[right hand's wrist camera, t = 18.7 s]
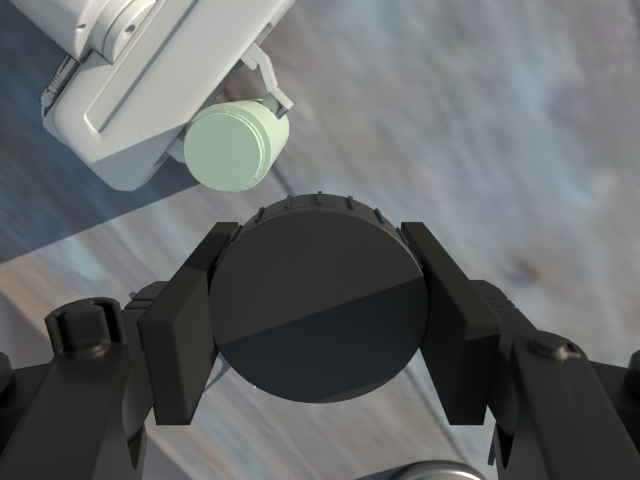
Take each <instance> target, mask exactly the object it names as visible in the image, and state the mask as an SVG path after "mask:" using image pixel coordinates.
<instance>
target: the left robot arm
mask: <svg viewBox="0 0 640 480" xmlns="http://www.w3.org/2000/svg"><path fill="white" fill-rule="evenodd" d="M9 1H10V2H11V3H12V4H13V5H14V6H15V7H16V8H17V9H18V10H19V11H20V12H21V13H23V14H24V15H25V16H26V17H27V18H28V19H30V20H31V21H32V22H33V23H34V24H35V25H36V26H38V27H39V28H40V29H41V30H42V31H43V32H44V33H46V34H47V35H48V36H49V37H50V38H51V39H52V40H54V41H55V42H56V43H57V44H58V45H59V46H60V47H62V48H63V49H64V50H65V51H66V52H67V54H66V55H65V57H64V59H63V60H62V62H61V63H60V65H59V66H58V68H57V70H56V72H55V74H54V76H53V79H52V80H51V82H50V83H49V85H48V86H46V87H45V88H44V89H43V91H42V92H41V94H40V97H39V102H40V104H41V118H42V123H43V126H44V127H45V129H46V130H47V131H48V132H49V133H51V134H52V135H53V136H54V137H56V138H57V139H58V140H59V141H61V142H62V143H63V144H64V145H66V146H68V147H70V148H71V149H72V151H73V152H74V153H75V154H76V155H77V156H78V157H79V158H80V159H81V160H82V161H83V162H84V163H85V164H86V165H87V166H88V167H89V168H90V169H91V170H92V171H93V172H94V173H95V174H96V175H97V176H99V177H100V178H101V179H102V180H103V181H104V182H105V183H106V184H108V185H109V186H110V187H112V188H113V189H115V190H120V191H133V190H135V189H137V188H139V187H141V186H143V185H144V184H146V183H147V182H148V181H149V180H150V179H151V178H152V176H153V175H154V174H155V173H156V171H157V170H158V169H159V168H160V166H161V165H162V164H163V163H164V162H165V160H166V159H167V158H168V157H169V155H171V156H172V157H173V158H174V159H175V160H177V161H178V162H181V163H185V159H184V155H183V143H184V138H185V134H186V130H187V128H188V125H189V124H190V122H191V120H192V119H193V118H194V117H195V115H197V114H198V113H199V112H200V111H202V110H203V109H205V108H207V107H209V106H210V105H211V104H212V103H213V101H214V100H215V99H216V98H217V96H218V95H219V94H220V93H221V91H222V90H223V89H224V88H225V87H226V85H227V84H228V83H229V82H230V80H231V79H232V78H233V77H234V75H235V74H236V73H237V72H238V71H239V69H240V68H241V67H242V66H243V64H244V63H245V64H246V65H247V66H248V67H249V68H250V69H251V70H253V71H259V70H260V71H261V74H262V77H263V80H264V83H265V86H266V89H267V92H268V95H267V96H266V97H265V98H264V99H263V101H262V102H261V103H262V104H263V105H264V106H265V107H267V108H268V109H272V113H273V114H274V115H275V116H276V117H277V118H278V119H281V118H282V117H283V116H284V115H285V114H286V113H287V112H288V111H289V109H290V108H291V107H292V106H293V105H294V104H293V103H292V102H291V100H290V99H289V98H288V97H287V96H286V95H285V94H284V93H283V92H282V91H281V90H280V89H279V88H278V87H277V86H278V84H277V81H276V78H275V74H274V71H273V68H272V64H271V61H270V58H269V57H268V56H267V55H266V54H265V53H264V52H263V51H262V50H261V49H260V48H259V47H258V46H259V45H260V44H261V42H262V41H263V40H264V39H265V37H266V36H267V35H268V34H269V32H270V31H271V30H272V29H273V28H274V26H275V25H276V24H277V23H278V21H279V20H280V19H281V18H282V16H283V15H284V14H285V13H286V12H287V10H288V9H289V8H290V7H291V5H292V4H293V3H294V2H295V0H9ZM48 108H49V109H50V110H49V112H48V113H47V110H48Z"/></svg>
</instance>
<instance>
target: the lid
mask: <svg viewBox="0 0 640 480" xmlns="http://www.w3.org/2000/svg"><path fill="white" fill-rule="evenodd" d="M230 242H231V244H230V246H229V247H228V249H227V248H225V249H224V251H223V253H222V254H221V256H220V258H219V259H218V261H217V262H216V264H215V267H216V270H215V272H214V275H213V277H212V280H211V283H210V288H209V292H208V298H209V307H210V316H211V325H212V333H213V338H214V340H215V343H216V345H217V347H218V349H219V350H220V352H221V354H222V355H223V357H224V358H225V359H226V361H227V362H228V363H229V365H230V366H231V367H232V368H233V369H234V370H235V371H236V372H237V373H238V374H239V375H240V376H242V377H243V378H244V379H245V380H247V381H248V382H249V383H251V384H253V385H254V386H256V387H257V388H259V389H261V390H263V391H265V392H267V393H269V394H272V395H275V396H278V397H280V398H283V399H288V400H292V401H296V402H304V403H333V402H339V401H345V400H349V399H353V398H356V397H359V396H362V395H364V394H367V393H369V392H372V391H373V390H375V389H377V388H379V387H381V386H382V385H384V384H385V383H387V382H388V381H390V380H391V379H392V378H394V377H395V376H396V375H397V374H398V373H399V372H400V371H401V370H403V368H404V367H405V366H406V365H407V364H408V363H409V361H410V360H411V359H412V357H413V356H414V354H415V353H416V351H417V350H418V348H419V346H420V343H421V341H422V339H423V337H424V333H425V330H426V327H427V322H428V315H429V297H428V291H427V286H426V282H425V279H424V276H423V273H422V271H421V270H423V268H422V266H421V264H420V263H419V261H418V259H417V258H416V256H415V254H414V253H413V251H412V250H411V251H410V249H409V248H408V246H407V244H408V242H407V240H406V238H405V237H404V235H403V234H402V232H401V230H400V229H399V228H398V227H397V228H395V227H394V226H393V225H392V224H391V223H390V222H389V221H388V220H387V219H386V218H384V217H383V216H382V215H381V213H380V211H379V209H377V208H376V209H375V210H373V209H372V208H370V207H369V206H367V205H364V204H362V203H360V202H358V201H356V200H353V198H352V196H348V198H346V197H342V196H336V195H330V194H322V191H318V194H308V195H300V196H295V197H292V196H291V195H288V196H287V199H284V200H282V201H279V202H276V203H274V204H272V205H270V206H268V207H266V208H264V207H261V208H260V209H259V211H258V213H257V214H256V215H254V216H253V217H252V218H251V219H250V220H249V221H248V222H247V223H246V224H244V225H243V226H242V225H240V226H239V227H238V229H237V230H236V232H235V233H234V235H233V237H232V238H231V240H230Z"/></svg>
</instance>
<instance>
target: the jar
mask: <svg viewBox="0 0 640 480" xmlns="http://www.w3.org/2000/svg"><path fill="white" fill-rule="evenodd" d="M262 101H263V99H251V100H244V101H236V102H229V103H222V104H215V105H212V106H209V107H207V108H205V109H203V110H202V111H200V112H199V113H198V114H197V115H195V117H194V118H193V119H192V120H191V122H190V124H189V125H188V128H187V130H186V134H185V138H184V143H183V155H184V159H185V163H186V165H187V167H188V169H189V171H190V173H191V174H192V175H193V176H194V178H195V179H196V180H197V181H199V182H200V183H201V184H202V185H204V186H206V187H208V188H210V189H212V190H216V191H221V192H229V193H235V192H241V191H245V190H247V189H250V188H252V187H253V186H255V185H256V184H258V183H259V182H260V181H261V180H262V179H263V177H264V176H265V175H266V173H267V172H268V170H269V168H270V167H271V165H272V164H273V162H274V161H275V159H276V157H277V156H278V154H279V153H280V151H281V150H282V148H283V147H284V145H285V143H286V141H287V139H288V135H289V123H288V119H287V117H286V115H284V116H283V117H282V118H281V119H278V118H277V117H276V116H275V115H274V114H273V113H272V109H268V108H267V107H265V106H264V105H263V104H262V103H261V102H262Z"/></svg>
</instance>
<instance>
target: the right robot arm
mask: <svg viewBox="0 0 640 480" xmlns="http://www.w3.org/2000/svg"><path fill="white" fill-rule="evenodd" d="M238 227H239V224H238V222H217V223H216V224H215V226H214V227H213V228H212V229H211V231H210V232H209V233H208V234H207V235H206V237H205V238H204V239H203V240H202V242H201V243H200V244H199V245H198V247H197V248H196V249H195V250H194V251H193V253H192V254H191V255H190V256H189V258H188V259H187V260H186V261H185V262H184V264H183V265H182V266H181V267H180V269H179V270H178V271H177V272H176V274H175V275H174V276H173V277H172V278H171V280H170V281H156V282H154V283H152V284H150V285H148V286H147V287H145V288H143V289H141V290H140V291H139V292H138V294H137V295H136V296H135V297H134V298H133V299H132V301H130V302H129V303H128V304H127V305H126V307H125V309H124V310H122V311H121V308H120V303H119V302H118V301H116V300H115V299H112V298H106V297H95V298H87V299H82V300H77V301H74V302H71V303H69V304H66V305H63V306H61V307H59V308H58V309H56V310H54V311H52V312H51V313H50V314H49V315H48V316H47V317H46V318H45V319H44V320H45V323H46V327H47V330H48V334H49V337H50V341H51V344H52V347H53V351H54V354H55V355H54V357H53V359H52V361H51V362H50V363H47V364H41V365H36V366H31V367H26V368H20V369H15V370H13V369H12V366H11V363H10V360H9V358H8V356H7V355H5V354H4V353H2V352H0V480H142V473H143V466H144V459H145V451H146V444H147V434H146V428H145V424H144V421H145V419H146V417H147V415H148V414H149V412H150V410H151V408H152V406H153V410H154V415H155V420H156V425H190V424H191V421H192V419H193V416H194V414H195V411H196V408H197V406H198V403H199V401H200V398H201V396H202V393H203V391H204V388H205V386H206V383H207V381H208V378H209V376H210V373H211V370H212V368H213V365H214V363H215V360H216V358H217V355H218V353H219V349H218V347H217V345H216V343H215V340H214V338H213V333H212V325H211V316H210V307H209V298H208V292H209V288H210V283H211V280H212V277H213V275H214V272H215V270H216V267H215V264H216V262H217V261H218V259H219V258H220V256H221V254H222V253H223V251H224V249H225V248H227V249H228V247H229V246H230V244H231V242H230V240H231V238H232V237H233V235H234V233H235V232H236V230H237V229H238ZM401 232H402V234H403V235H404V237H405V238H406V240H407V242H408V244H407V246H408V248H409V249H410V251H411V250H412V251H413V253H414V254H415V256H416V258H417V259H418V261H419V263H420V264H421V266H422V268H423V270H421V271H422V273H423V276H424V279H425V282H426V286H427V291H428V297H429V315H428V322H427V327H426V330H425V333H424V337H423V339H422V341H421V343H420V346H419V348H420V351H421V353H422V356H423V358H424V361H425V363H426V366H427V369H428V371H429V374H430V376H431V379H432V381H433V384H434V386H435V389H436V391H437V394H438V396H439V399H440V401H441V404H442V407H443V409H444V412H445V414H446V417H447V419H448V422H449V424H450V425H483V424H484V419H485V414H486V408H487V405H488V407H489V408H490V410H491V412H492V414H493V416H494V418H495V419H496V424H495V428H494V433H493V438H492V443H491V448H490V453H489V458H488V465H492V466H493V463H494V459H495V458H496V465H497V472H498V480H640V350H638V351H637V352H635V353H634V354H632V356H631V359H630V362H629V365H628V368H624V367H619V366H613V365H608V364H603V363H597V362H593V361H589V360H588V358H587V356H586V354H585V353H584V352H583V351H582V350H581V348H580V347H579V346H577V345H576V344H574V343H573V342H571V341H570V340H568V339H566V338H564V337H561V336H559V335H556V334H553V333H549V332H545V331H540V330H537V329H536V328H535V327H534V325H533V324H532V323H531V322H530V321H529V320H528V319H527V318H526V317H525V316H524V315H523V314H522V313H521V312H520V310H519V309H518V308H515V305H514V304H513V303H512V302H511V301H510V300H508V298H507V297H506V295H505V294H504V293H503V292H502V291H501V290H500V289H499V288H497V287H496V286H494V285H492V284H490V283H488V282H487V281H485V280H469V279H468V278H467V276H466V275H465V274H464V273H463V271H462V270H461V269H460V268H459V266H458V265H457V264H456V263H455V262H454V260H453V259H452V258H451V257H450V255H449V254H448V253H447V252H446V251H445V249H444V248H443V247H442V246H441V244H440V243H439V242H438V241H437V239H436V238H435V237H434V236H433V235H432V233H431V232H430V231H429V230H428V228H427V227H426V226H425V225H424V223H423V222H401ZM390 480H486V479H485V477H484V476H483V475H482V474H481V473H479V472H478V471H477V470H475V469H474V468H472V467H470V466H467V465H465V464H462V463H458V462H453V461H428V462H423V463H419V464H415V465H413V466H410V467H408V468H406V469H404V470H402V471H400V472H398V473H397V474H396V475H394V476H393V477H392V478H391V479H390Z"/></svg>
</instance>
